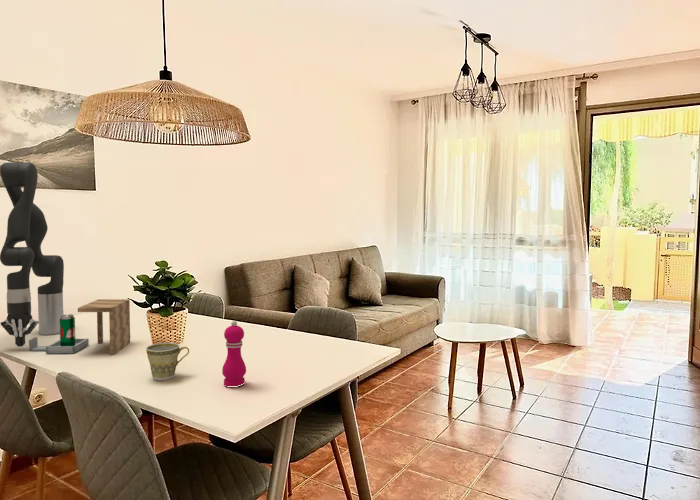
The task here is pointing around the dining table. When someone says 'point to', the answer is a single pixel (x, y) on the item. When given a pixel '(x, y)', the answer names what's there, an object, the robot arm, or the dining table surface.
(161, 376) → the ceramic cup
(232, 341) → the pepper mill
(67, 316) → the soda can
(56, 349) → the tray
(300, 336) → the dining table surface
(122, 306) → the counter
